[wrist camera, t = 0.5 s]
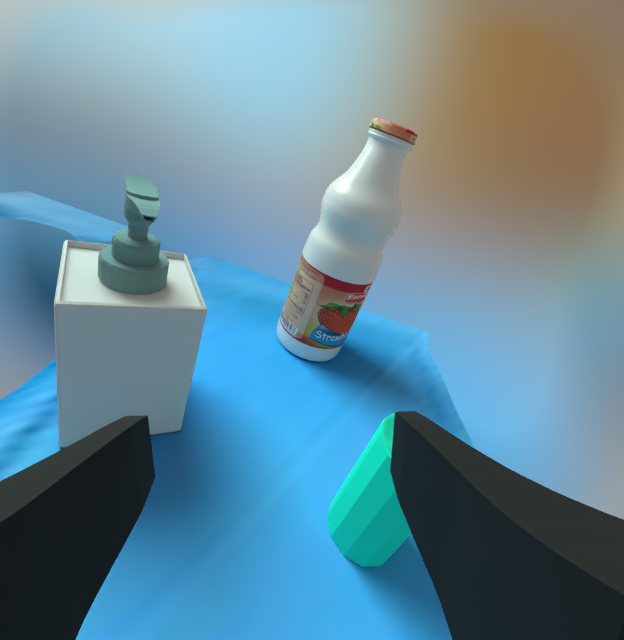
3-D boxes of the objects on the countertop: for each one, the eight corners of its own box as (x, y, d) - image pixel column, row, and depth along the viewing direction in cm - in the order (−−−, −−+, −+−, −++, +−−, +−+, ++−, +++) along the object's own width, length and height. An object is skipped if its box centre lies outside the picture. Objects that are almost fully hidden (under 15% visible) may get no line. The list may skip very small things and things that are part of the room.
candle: (399, 577, 26) (492, 484, 20) (325, 556, 26) (398, 455, 20) (390, 502, 31) (461, 411, 26) (328, 483, 31) (386, 386, 25)
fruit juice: (300, 315, 54) (374, 119, 41) (349, 348, 51) (448, 147, 37) (260, 333, 46) (336, 99, 33) (315, 373, 43) (424, 132, 30)
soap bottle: (58, 451, 25) (48, 194, 16) (66, 369, 31) (62, 148, 22) (181, 433, 30) (228, 225, 21) (167, 365, 36) (198, 180, 27)
